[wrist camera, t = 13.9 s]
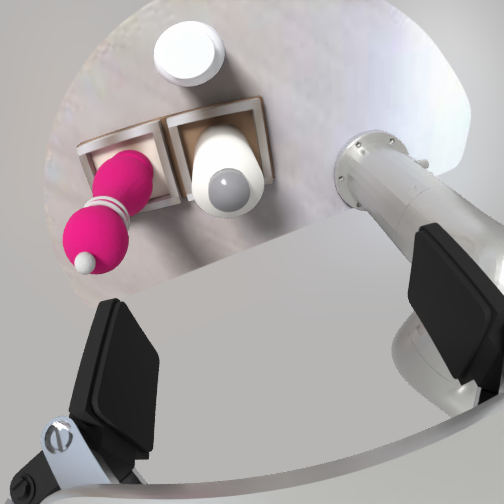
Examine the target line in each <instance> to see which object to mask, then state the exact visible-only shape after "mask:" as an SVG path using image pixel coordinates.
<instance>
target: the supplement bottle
mask: <svg viewBox="0 0 504 504" xmlns="http://www.w3.org/2000/svg"><path fill="white" fill-rule="evenodd" d="M224 57H225V47H224V43H223V40H222V38H221V36H220V35H219V34H218V32H217V31H216V30H214V29H213V28H212V27H210V26H209V25H207V24H204V23H201V22H196V21H188V22H182V23H178V24H176V25H174V26H172V27H170V28H169V29H167V30H166V31H165V32H164V33H163V34H162V35H161V36H160V38H159V39H158V41H157V43H156V46H155V49H154V63H155V66H156V69H157V71H158V72H159V74H160V75H161V76H162V77H163V78H164V79H165V80H167V81H168V82H170V83H172V84H175V85H178V86H184V87H190V86H196V85H200V84H203V83H205V82H207V81H208V80H210V79H211V78H212V77H214V76H215V75H216V74H217V72H218V71H219V70H220V68H221V66H222V64H223V61H224Z"/></svg>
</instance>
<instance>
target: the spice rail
mask: <svg viewBox="0 0 504 504" xmlns="http://www.w3.org/2000/svg"><path fill="white" fill-rule="evenodd" d="M217 123H227V124H231V125H234V126H236V127H237V128H239V129H240V130H241V131H242V132H243V134H244V135H245V137H246V139H247V141H248V143H249V145H250V147H251V150H252V152H253V154H254V156H255V158H256V160H257V163H258V165H259V167H260V169H261V171H262V174H263V177H264V185H268V184H273V178H275V177H274V170H273V163H272V157H271V150H270V143H269V137H268V130H267V124H266V117H265V111H264V105H263V99H262V97H261V96H256V97H250V98H244V99H239V100H234V101H228V102H223V103H219V104H214V105H209V106H205V107H200V108H196V109H192V110H187V111H183V112H179V113H175V114H172V115H168V116H164V117H160V118H157V119H153V120H150V121H146V122H143V123H139V124H136V125H133V126H129V127H126V128H123V129H120V130H117V131H114V132H111V133H108V134H105V135H102V136H99V137H96V138H93V139H91V140H88V141H85V142H82V143H80V144H79V145H78V146H77V148H76V150H77V153H78V156H79V158H80V161H81V164H82V167H83V169H84V172H85V175H86V177H87V180H88V183H89V185H90V188H91V190H92V185H93V179H94V177H95V174H96V172H97V171H98V169H99V167H100V166H101V165H102V164H103V163H104V162H105V161H107V160H108V159H110V158H112V157H113V156H114V155H116V154H117V153H118V152H121V151H124V150H136V151H139V152H141V153H143V154H144V155H145V156H146V157H147V158H148V159H149V160H150V162H151V164H152V166H153V171H154V175H153V180H152V181H153V190H152V194H151V197H150V199H149V201H148V203H147V204H146V206H145V207H144V208H143V209H142V210H141V211H139V212H138V213H137V214H140V213H143V212H147V211H151V210H155V209H159V208H163V207H167V206H172V205H176V204H180V203H181V200H182V198H185V197H187V198H188V201H193V200H195V199H194V197H193V194H192V174H193V162H194V151H195V143H196V140H197V138H198V136H199V134H200V133H201V132H202V131H203V130H204V129H205V128H207V127H209V126H211V125H213V124H217ZM135 215H136V214H135Z"/></svg>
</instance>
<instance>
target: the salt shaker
mask: <svg viewBox="0 0 504 504" xmlns="http://www.w3.org/2000/svg"><path fill="white" fill-rule="evenodd" d="M263 190H264V177H263V174H262V171H261V169H260V167H259V165H258V163H257V160H256V158H255V156H254V154H253V152H252V150H251V147H250V145H249V143H248V141H247V139H246V137H245V135H244V134H243V132H242V131H241V130H240V129H239V128H237V127H236V126H234V125H231V124H227V123H217V124H213V125H211V126H209V127H207V128H205V129H204V130H203V131H202V132H201V133H200V134H199V136H198V138H197V140H196V143H195V151H194V162H193V174H192V194H193V197H194V199H195V201H196V203H197V204H198V206H199V207H200V208H201V209H202V210H204V211H205V212H206V213H208V214H210V215H212V216H215V217H219V218H234V217H238V216H241V215H243V214H245V213H247V212H249V211H250V210H251V209H252V208H254V207H255V206H256V204H257V203H258V202H259V200H260V198H261V196H262V194H263Z"/></svg>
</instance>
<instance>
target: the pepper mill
mask: <svg viewBox="0 0 504 504" xmlns="http://www.w3.org/2000/svg"><path fill="white" fill-rule="evenodd" d="M153 175H154V171H153V166H152V164H151V162H150V160H149V159H148V158H147V157H146V156H145V155H144V154H143V153H141V152H139V151H136V150H124V151H121V152H118V153H117V154H116V155H114V156H113V157H112V158H110V159H108V160H107V161H105V162H104V163H103V164H102V165H101V166H100V167H99V169H98V171H97V172H96V174H95V177H94V179H93V185H92V193H93V198H92V199H90V200H89V201H88V202H87V203H86V204H85V205H84V207H83V208H82V209H80V210H78V211H77V212H76V213H74V214H73V215H72V216H71V217H70V219H69V221H68V222H67V224H66V227H65V229H64V233H63V247H64V251H65V253H66V256H67V258H68V259H69V260H70V262H71V263H72V264H73V265H74V266H75V268H76V270H77V271H78V272H79V273H81V274H103V273H106V272H109V271H111V270H113V269H114V268H116V267H117V266H118V265H119V264H120V263H121V261H122V260H123V258H124V256H125V254H126V252H127V249H128V244H129V236H128V230H129V226H130V218H129V217H131V216H133V215H135V214H137V213H138V212H139V211H141V210H142V209H143V208H144V207H145V206H146V204H147V203H148V201H149V199H150V197H151V194H152V190H153V181H152V180H153Z"/></svg>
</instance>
